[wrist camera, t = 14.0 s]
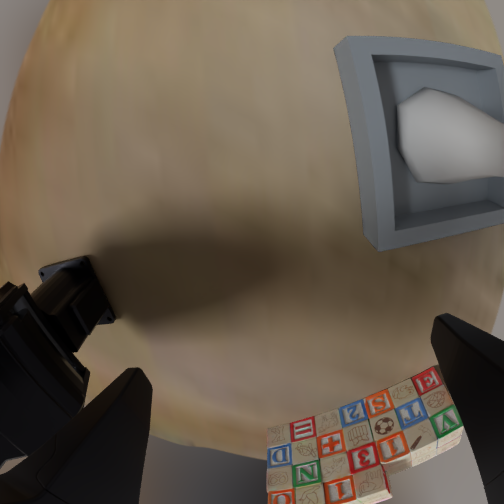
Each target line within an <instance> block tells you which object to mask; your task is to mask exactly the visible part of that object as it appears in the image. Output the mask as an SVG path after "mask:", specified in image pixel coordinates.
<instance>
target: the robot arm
mask: <svg viewBox="0 0 504 504" xmlns="http://www.w3.org/2000/svg"><path fill="white" fill-rule="evenodd" d="M83 262H84V263H85V264H84V263H83ZM39 275H40V278H41V280H42V282H43V283H42V284H41V285H40V286H39V287H38V288H37V289H36V290H35V291H34V292H33V293H32V294H31V295H30V293H29V292H28V288H27V286H26V285H25V283H23V284H21V285H20V286H18V287H17V286H16V285H13V284H12V283H10V282H9V281H8V282H7V283H6V284H4V285H3V286H2V287H1V288H0V468H1V467H2V466H3V465H4V463H5V462H6V461H8V460H12V459H18V458H22V457H26V456H28V457H27V458H26V459H24V460H23V461H22V462H20V463H19V464H18V465H16V466H15V467H13V468H12V469H11V470H9V471H8V472H6V473H4V474H1V475H0V504H139V495H140V488H141V481H142V474H143V467H144V461H145V455H146V448H147V443H148V436H149V430H150V417H151V404H152V392H153V389H152V385H151V383H150V381H149V380H148V378H147V377H146V375H145V374H144V372H143V371H142V369H140V368H138V367H136V368H127V369H126V370H125V371H124V372H123V373H122V374H121V375H120V376H118V377H117V378H116V379H115V380H114V381H113V382H112V383H111V384H110V385H109V386H108V387H106V388H105V389H104V390H103V391H102V392H101V393H100V394H99V395H98V396H97V397H95V398H94V399H93V400H92V401H91V402H90V403H89V404H88V405H87V406H86V407H84V403H85V397H86V392H87V386H88V381H89V377H90V371H89V370H88V369H87V368H86V367H84V366H83V365H82V364H81V362H80V361H79V360H78V359H77V358H76V357H75V355H74V354H73V353H74V352H78V350H79V349H80V347H81V346H82V344H83V342H84V341H85V339H86V338H87V336H88V335H90V334H91V333H92V331H93V329H94V328H95V326H96V325H101V324H111V323H114V321H115V320H116V316H115V314H114V312H113V310H112V308H111V306H110V304H109V302H108V300H107V298H106V296H105V294H104V292H103V290H102V288H101V286H100V284H99V281H98V279H97V277H96V275H95V273H94V270H93V268H92V266H91V264H90V261H89V259H88V258H87V257H85V256H83V257H79V258H75V259H71V260H67V261H64V262H60V263H56V264H53V265H49V266H45V267H42V268H41V269H40V270H39ZM110 317H111V318H110ZM431 344H432V347H433V349H434V352H435V355H436V357H437V360H438V363H439V366H440V369H441V372H442V375H443V378H444V380H445V383H446V386H447V388H448V390H449V393H450V395H451V397H452V399H453V402H454V404H455V406H456V409H457V411H458V413H459V416H460V418H461V421H462V423H463V426H464V428H465V431H466V433H467V436H468V439H469V442H470V445H471V447H472V450H473V453H474V456H475V459H476V462H477V465H478V468H479V471H480V475H481V478H482V481H483V485H484V489H485V493H486V497H487V500H488V504H504V341H502V340H501V339H498V338H497V337H495V336H493V335H491V334H489V333H487V332H485V331H483V330H481V329H479V328H477V327H475V326H473V325H471V324H469V323H467V322H465V321H463V320H461V319H459V318H457V317H455V316H453V315H451V314H448V313H444V314H441V315H438V316H436V317H435V319H434V323H433V328H432V333H431Z"/></svg>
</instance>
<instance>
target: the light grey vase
mask: <svg viewBox="0 0 504 504" xmlns="http://www.w3.org/2000/svg"><path fill="white" fill-rule="evenodd" d="M397 148H398V150H399V152H400V153H401V155H402V157H403V159H404V160H405V162H406V164H407V166H408V168H409V170H410V171H411V173H412V175H413V177H414V179H415V181H416V182H420V183H434V184H445V185H447V184H454V183H458V182H463V181H467V180H472V179H480V178H487V177H494V176H498V177H504V124H503V123H501V122H499V121H498V120H496V119H495V118H493V117H491V116H490V115H488V114H486V113H485V112H483V111H481V110H480V109H478V108H476V107H475V106H473V105H472V104H470V103H469V102H467V101H465V100H464V99H462V98H460V97H458V96H456V95H454V94H451V93H447V92H443V91H440V90H436V89H432V88H427V87H423V88H422V89H420V90H419V91H417V92H416V93H414V94H413V95H412V96H410V97H409V98H407V99H406V100H404V101H403V102H401V103H400V104H399V105H397Z"/></svg>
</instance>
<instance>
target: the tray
mask: <svg viewBox="0 0 504 504" xmlns="http://www.w3.org/2000/svg"><path fill="white" fill-rule="evenodd" d="M333 49H334V52H335V56H336V60H337V64H338V68H339V72H340V77H341V81H342V85H343V90H344V95H345V99H346V104H347V109H348V115H349V120H350V126H351V132H352V138H353V144H354V150H355V157H356V164H357V172H358V180H359V189H360V199H361V209H362V221H363V235H364V236H365V237H366V238H367V239H368V240H369V241H370V243H371V244H372V245H373V246H374V247H375V248H376V250H377V251H378V252H381V251H386V250H390V249H395V248H400V247H404V246H409V245H413V244H418V243H422V242H427V241H431V240H436V239H440V238H444V237H449V236H453V235H457V234H461V233H466V232H470V231H474V230H478V229H482V228H486V227H490V226H494V225H499V224H503V223H504V177H498V176H494V177H487V178H480V179H472V180H467V181H463V182H458V183H454V184H447V185H445V184H434V183H420V182H416V181H415V179H414V177H413V175H412V173H411V171H410V170H409V168H408V166H407V164H406V162H405V160H404V159H403V157H402V155H401V153H400V152H399V150H398V148H397V105H399V104H400V103H401V102H403V101H404V100H406V99H407V98H409V97H410V96H412V95H413V94H414V93H416V92H417V91H419V90H420V89H422V88H423V87H427V88H432V89H436V90H440V91H443V92H447V93H451V94H454V95H456V96H458V97H460V98H462V99H464V100H465V101H467V102H469V103H470V104H472V105H473V106H475V107H476V108H478V109H480V110H481V111H483V112H485V113H486V114H488V115H490V116H491V117H493V118H495V119H496V120H498V121H499V122H501V123H503V124H504V66H503V61H502V57H501V56H500V55H497V54H493V53H490V52H486V51H482V50H478V49H474V48H469V47H465V46H460V45H454V44H449V43H443V42H436V41H429V40H421V39H412V38H400V37H384V36H346V37H345V38H344V39H343V40H342V41H341V42H340V43H339V44H337V45H336V46H335V47H334V48H333Z"/></svg>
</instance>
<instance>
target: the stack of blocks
mask: <svg viewBox="0 0 504 504" xmlns="http://www.w3.org/2000/svg"><path fill="white" fill-rule="evenodd" d="M463 427H464V426H463V423H462V421H461V418H460V416H459V413H458V411H457V409H456V407H455V405H454V404H453V402H452V400H451V398H450V396H449V394H448V392H447V390H446V388H445V386H444V385H443V383H442V381H441V379H440V377H439V375H438V373H437V371H436V370H435V368H434V367H431V368H429V369H428V370H426V371H424V372H422V373H420V374H418V375H416V376H414V377H412V378H409V379H407V380H405V381H403V382H400V383H398V384H396V385H394V386H392V387H390V388H388V389H385V390H383V391H380V392H378V393H376V394H373V395H371V396H368V397H366V398H364V399H361V400H359V401H356V402H354V403H351V404H348V405H346V406H343V407H340V408H338V409H335V410H332V411H329V412H326V413H323V414H320V415H317V416H313V417H309V418H306V419H303V420H299V421H296V422H292V423H288V424H284V425H280V426H276V427H272V428H268V429H267V448H268V452H267V469H268V470H267V492H268V504H375V503H378V502H381V501H384V500H387V499H390V498H392V497H393V494H392V490H391V485H390V480H389V476H391V475H393V474H396V473H398V472H401V471H403V470H406V469H408V468H410V467H413V466H416V465H418V464H420V463H422V462H424V461H426V460H429V459H431V458H433V457H435V456H436V455H439V454H441V453H442V452H444V451H446V450H448V449H450V448H452V447H454V446H456V445H457V444H459V442H460V439H461V436H462V435H461V434H462V431H463Z"/></svg>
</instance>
